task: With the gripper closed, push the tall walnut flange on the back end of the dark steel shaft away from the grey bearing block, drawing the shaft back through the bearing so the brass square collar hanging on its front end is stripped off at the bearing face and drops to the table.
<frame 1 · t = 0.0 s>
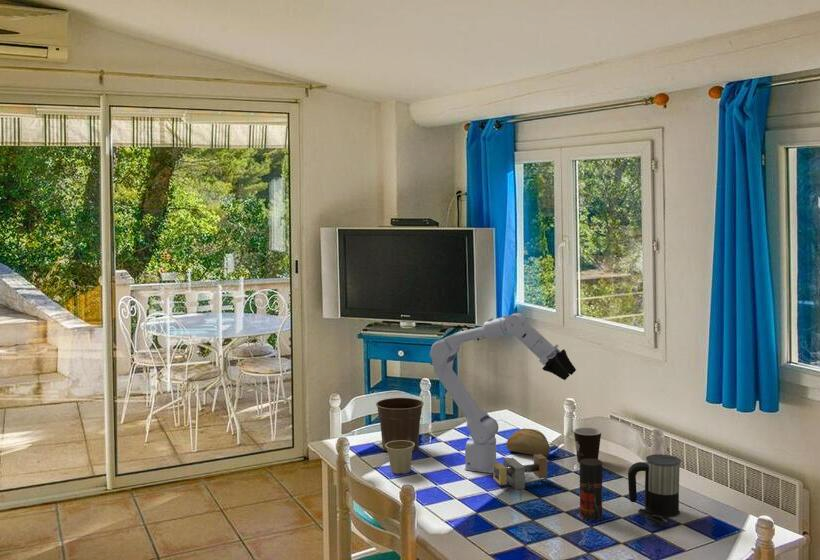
hand: (570, 375, 258), 32 cm above the table, tool tilted 50°, fingers open, 7 cm apart
deodorant: (590, 516, 233), on the table
plant pot: (400, 449, 296), on the table
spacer: (500, 486, 258), touching shaft
flower pot: (400, 471, 273), on the table
bread roll: (528, 454, 288), on the table
shaft: (519, 468, 259), point 5 cm above the table, slide at 0.0 cm, touching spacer
milk frother: (659, 517, 231), on the table
coffee mug: (587, 460, 279), on the table
bearing: (514, 483, 259), on the table
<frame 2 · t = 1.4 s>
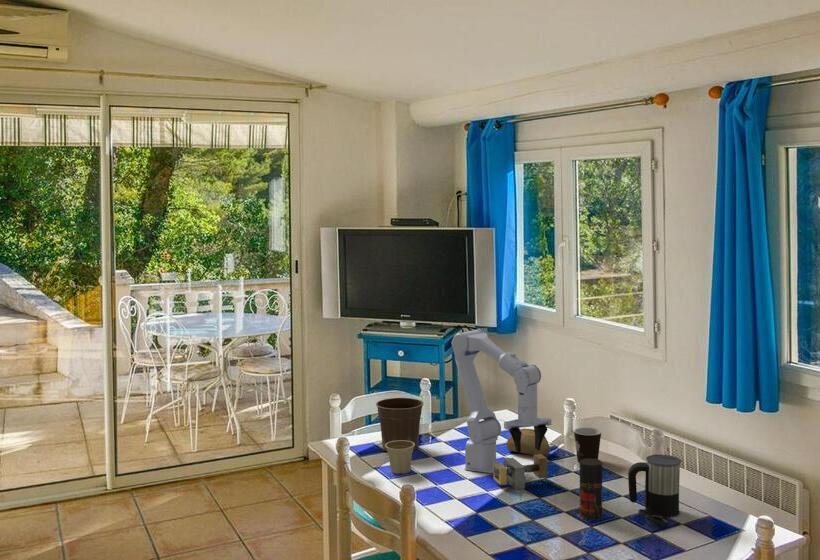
hand: (527, 450, 259), 10 cm above the table, tool pointing down, fingers open, 6 cm apart
nothing on the table moved.
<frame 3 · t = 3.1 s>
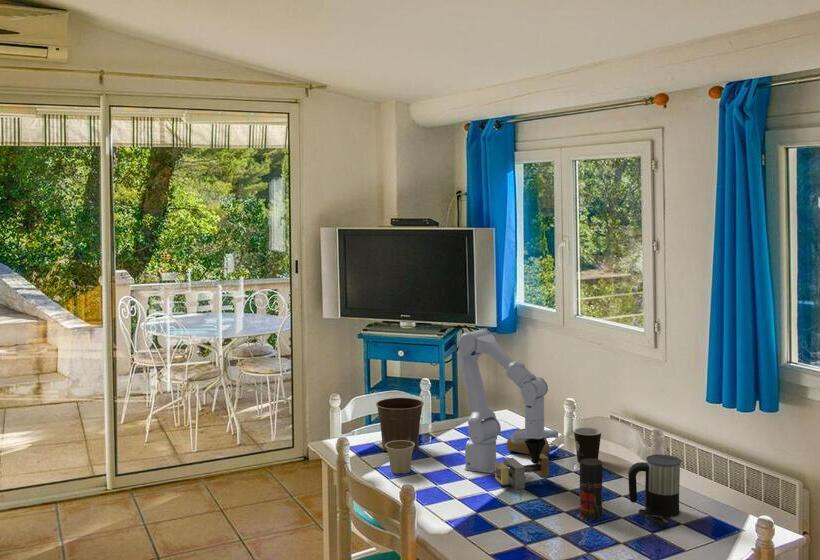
hand: (534, 462, 260), 6 cm above the table, tool pointing down, fingers closed
shaft: (521, 468, 259), point 5 cm above the table, slide at 0.6 cm, touching gripper, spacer
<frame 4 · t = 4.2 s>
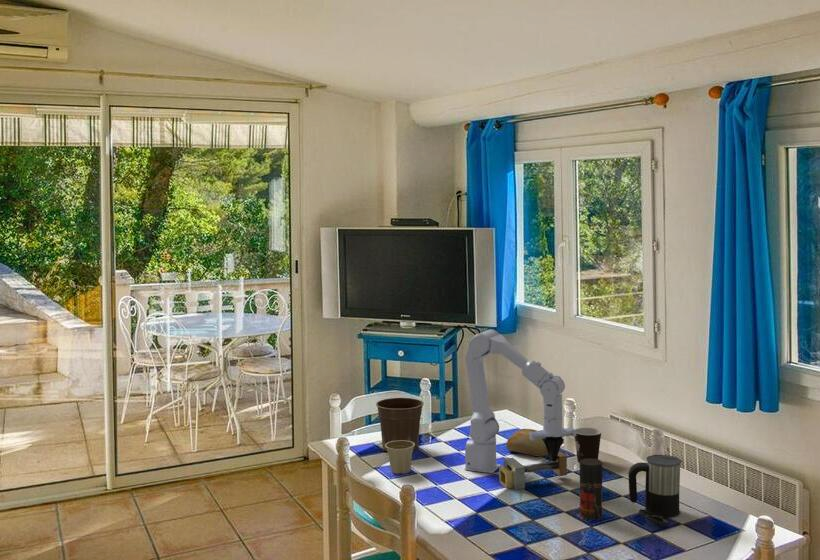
hand: (552, 460, 261), 6 cm above the table, tool pointing down, fingers closed
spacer: (506, 489, 258), on the table
shaft: (539, 466, 260), point 5 cm above the table, slide at 6.5 cm, touching gripper
everything else where it was.
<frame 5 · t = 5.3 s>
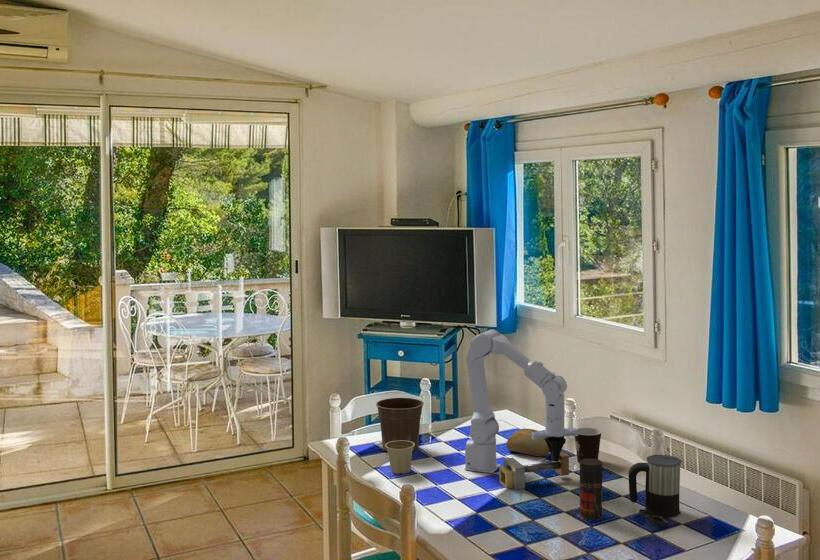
hand: (555, 460, 262), 6 cm above the table, tool pointing down, fingers closed
shaft: (541, 465, 261), point 5 cm above the table, slide at 7.2 cm, touching gripper
everything else where it was.
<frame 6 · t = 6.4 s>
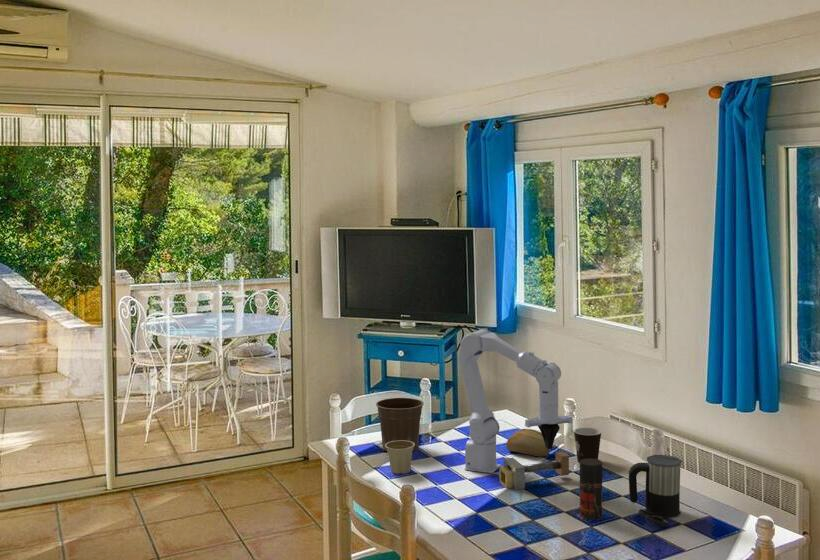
hand: (548, 448, 261), 10 cm above the table, tool pointing down, fingers closed
shaft: (541, 465, 261), point 5 cm above the table, slide at 7.2 cm
everything else where it was.
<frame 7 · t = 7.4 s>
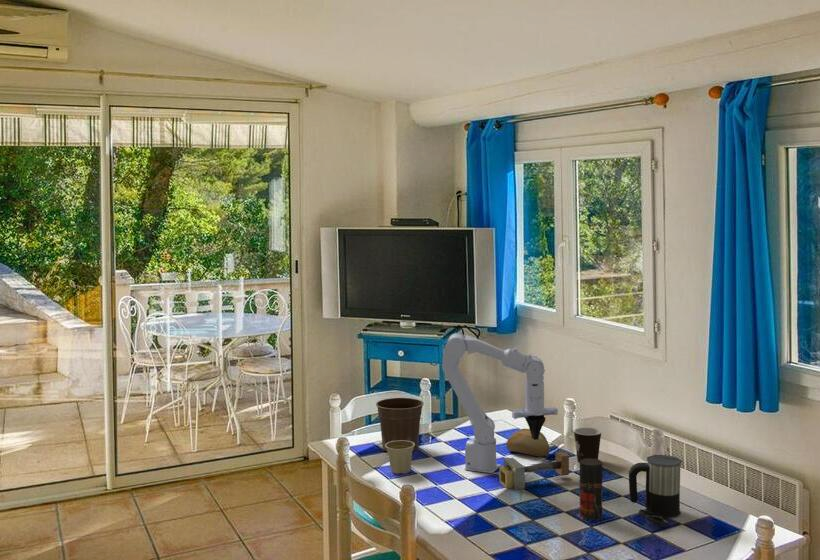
hand: (535, 438, 270), 10 cm above the table, tool pointing down, fingers closed
nothing on the table moved.
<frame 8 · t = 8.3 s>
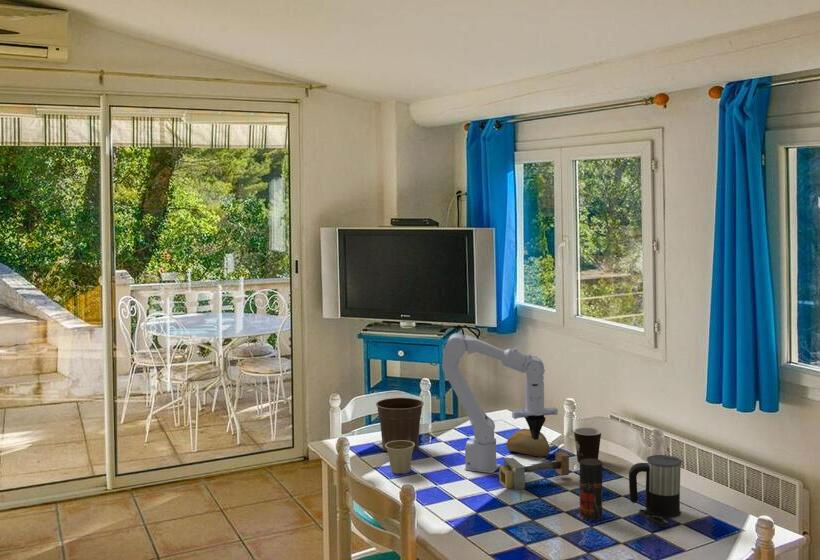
hand: (535, 438, 270), 10 cm above the table, tool pointing down, fingers closed
nothing on the table moved.
at the end: shaft slide at 7.2 cm; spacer touching table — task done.
